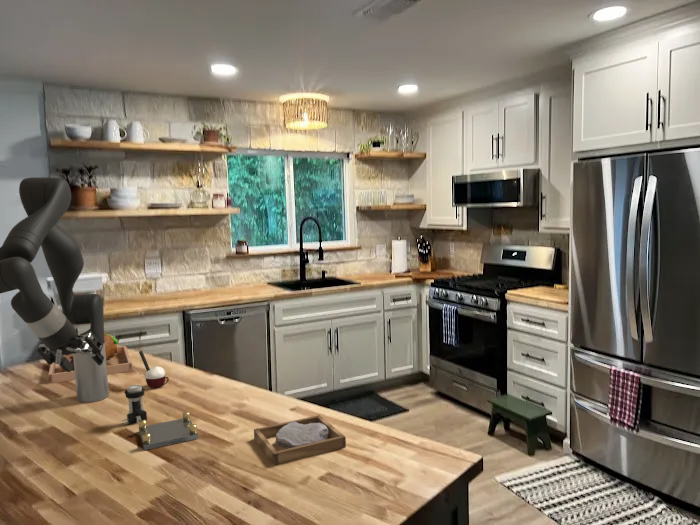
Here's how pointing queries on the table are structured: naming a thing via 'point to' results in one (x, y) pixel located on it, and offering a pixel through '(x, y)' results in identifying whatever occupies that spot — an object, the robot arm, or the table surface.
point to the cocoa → (154, 374)
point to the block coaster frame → (300, 451)
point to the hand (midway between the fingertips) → (86, 365)
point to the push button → (135, 404)
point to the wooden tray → (110, 369)
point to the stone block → (301, 434)
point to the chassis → (167, 432)
